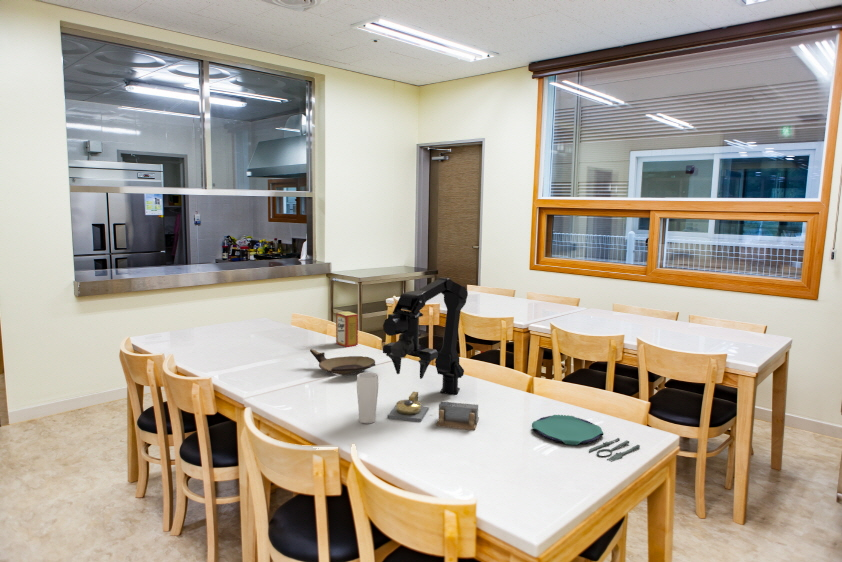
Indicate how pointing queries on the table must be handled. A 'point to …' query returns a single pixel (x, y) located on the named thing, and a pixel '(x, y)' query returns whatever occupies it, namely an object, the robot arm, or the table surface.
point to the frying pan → (343, 363)
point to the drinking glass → (367, 396)
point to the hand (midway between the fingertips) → (409, 376)
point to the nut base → (413, 417)
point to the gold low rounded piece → (409, 405)
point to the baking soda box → (346, 329)
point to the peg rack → (457, 424)
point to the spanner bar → (458, 411)
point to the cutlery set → (575, 433)
